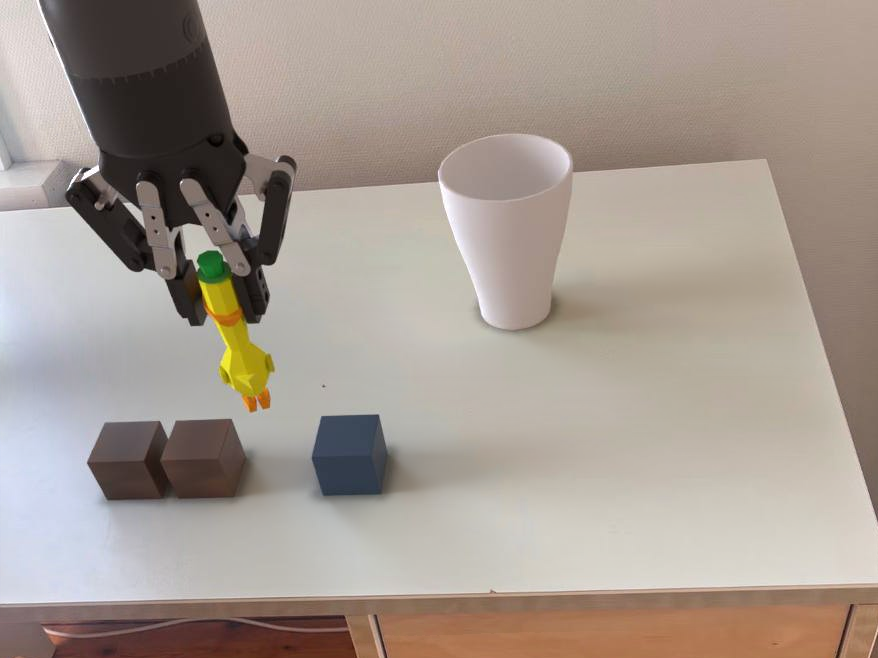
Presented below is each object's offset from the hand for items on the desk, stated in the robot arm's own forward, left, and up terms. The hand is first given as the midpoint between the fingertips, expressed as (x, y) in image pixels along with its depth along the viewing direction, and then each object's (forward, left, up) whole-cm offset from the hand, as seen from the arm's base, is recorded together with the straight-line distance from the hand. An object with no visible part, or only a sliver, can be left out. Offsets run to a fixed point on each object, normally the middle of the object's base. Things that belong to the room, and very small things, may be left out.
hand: (227, 316), depth 63 cm
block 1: (-11, 0, -15) cm, 19 cm away
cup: (+17, +20, -15) cm, 30 cm away
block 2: (-5, 0, -15) cm, 16 cm away
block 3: (+6, 0, -15) cm, 16 cm away
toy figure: (0, 0, -7) cm, 7 cm away
